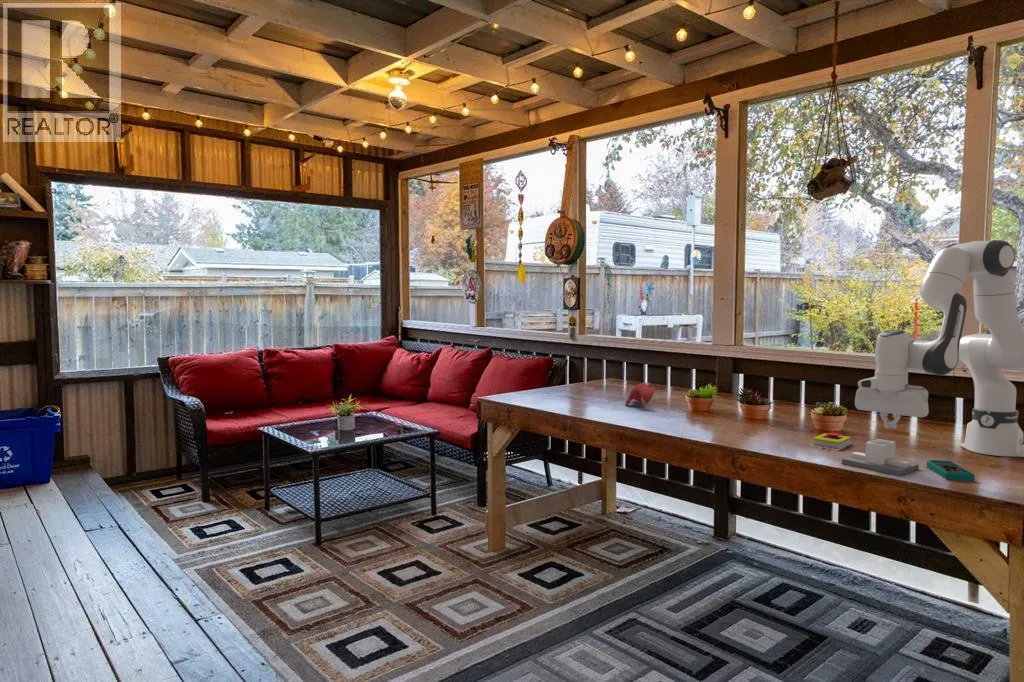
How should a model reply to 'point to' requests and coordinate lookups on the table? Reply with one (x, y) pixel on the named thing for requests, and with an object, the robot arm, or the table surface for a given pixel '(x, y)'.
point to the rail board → (889, 467)
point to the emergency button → (831, 441)
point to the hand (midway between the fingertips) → (890, 427)
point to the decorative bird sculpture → (641, 393)
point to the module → (879, 451)
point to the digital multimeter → (950, 470)
